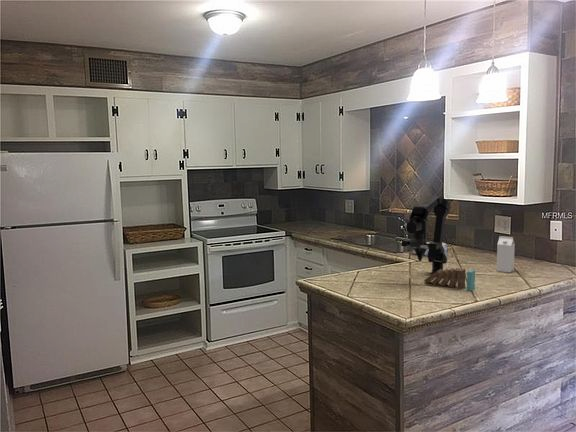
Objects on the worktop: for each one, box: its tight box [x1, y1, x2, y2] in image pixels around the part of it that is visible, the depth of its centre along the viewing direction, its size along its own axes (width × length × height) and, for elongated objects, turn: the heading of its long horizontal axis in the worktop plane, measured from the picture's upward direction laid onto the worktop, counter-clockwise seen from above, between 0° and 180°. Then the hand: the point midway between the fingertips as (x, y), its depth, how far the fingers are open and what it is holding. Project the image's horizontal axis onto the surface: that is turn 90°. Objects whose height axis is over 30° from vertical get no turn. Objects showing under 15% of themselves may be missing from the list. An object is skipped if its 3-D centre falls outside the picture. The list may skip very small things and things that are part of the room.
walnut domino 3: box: [439, 267, 455, 287], centre depth 237 cm, size 2×5×9 cm, turn 141°
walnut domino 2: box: [431, 268, 449, 286], centre depth 240 cm, size 2×5×9 cm
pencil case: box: [412, 241, 449, 257], centre depth 307 cm, size 21×9×10 cm, turn 52°
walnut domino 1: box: [423, 269, 442, 284], centre depth 242 cm, size 2×5×9 cm
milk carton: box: [496, 235, 516, 273], centre depth 264 cm, size 7×7×19 cm
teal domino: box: [466, 269, 476, 292], centre depth 230 cm, size 2×5×9 cm, turn 140°
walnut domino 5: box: [456, 268, 467, 290], centre depth 233 cm, size 2×5×9 cm, turn 141°
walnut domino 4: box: [448, 267, 461, 289], centre depth 235 cm, size 2×5×9 cm, turn 141°
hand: (420, 261), depth 246 cm, fingers closed
